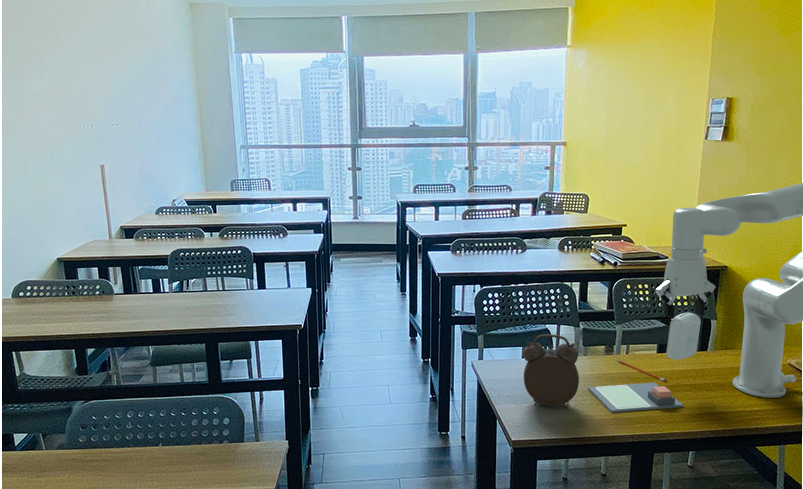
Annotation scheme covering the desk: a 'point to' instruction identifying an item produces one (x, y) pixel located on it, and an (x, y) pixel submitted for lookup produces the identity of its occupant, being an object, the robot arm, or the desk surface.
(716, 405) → the desk surface
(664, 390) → the button
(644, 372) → the pencil
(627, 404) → the activity board
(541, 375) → the alarm clock
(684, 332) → the photo printer
